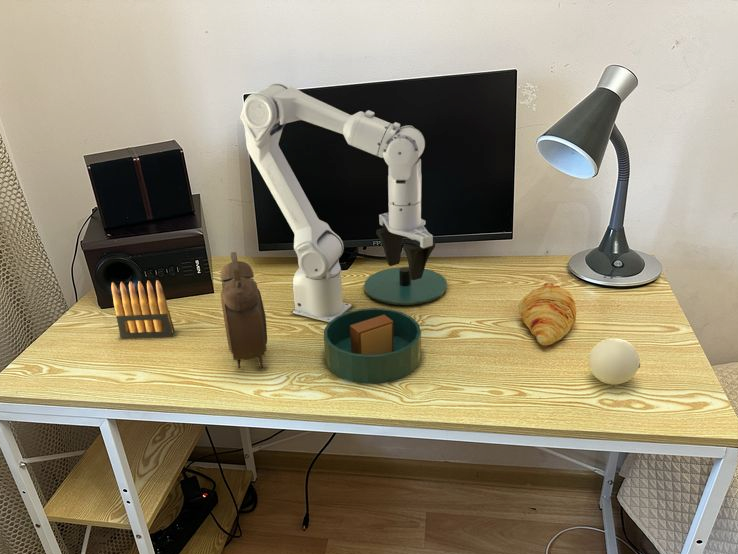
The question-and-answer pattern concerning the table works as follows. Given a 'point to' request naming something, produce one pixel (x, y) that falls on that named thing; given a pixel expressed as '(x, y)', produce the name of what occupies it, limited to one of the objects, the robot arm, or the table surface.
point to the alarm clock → (243, 312)
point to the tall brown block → (372, 336)
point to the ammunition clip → (142, 312)
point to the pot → (376, 365)
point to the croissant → (548, 313)
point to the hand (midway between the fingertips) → (404, 271)
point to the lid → (404, 286)
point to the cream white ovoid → (614, 361)
